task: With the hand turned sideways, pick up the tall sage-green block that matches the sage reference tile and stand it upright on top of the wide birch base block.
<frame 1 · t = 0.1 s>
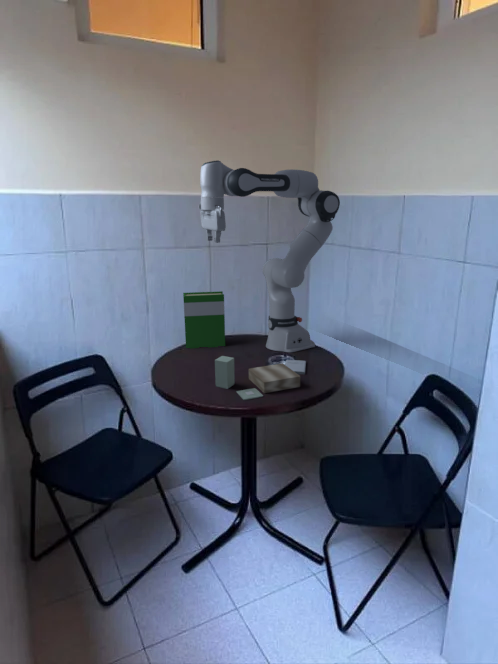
hand: (213, 241, 177), 48 cm above the table, tool pointing down, fingers open, 8 cm apart
sage block: (225, 385, 160), on the table
birch base block: (273, 382, 162), on the table
reference tile: (249, 394, 153), on the table
external hard drive: (294, 369, 176), on the table
hardback book: (205, 345, 205), on the table
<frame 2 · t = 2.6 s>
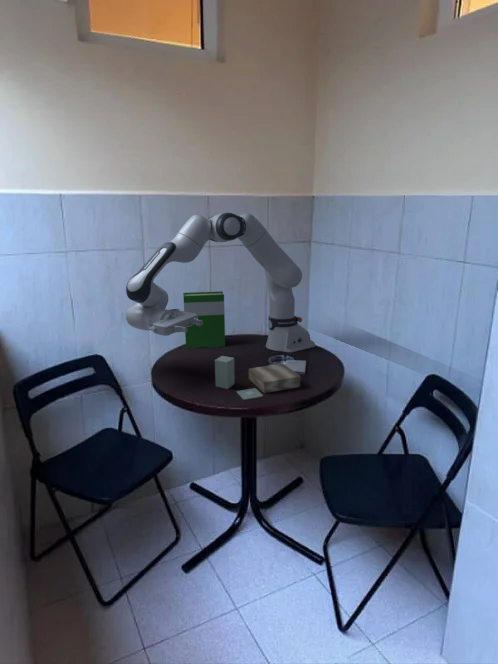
hand: (194, 326, 160), 20 cm above the table, tool horizontal, fingers open, 8 cm apart
nothing on the table moved.
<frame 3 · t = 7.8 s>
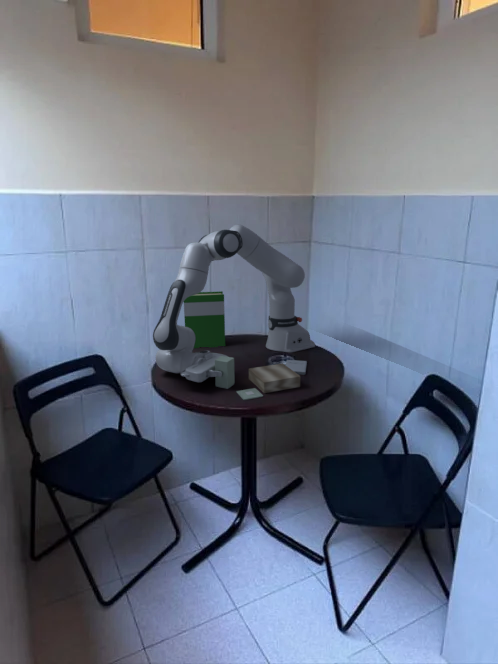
hand: (226, 371, 158), 6 cm above the table, tool horizontal, fingers closed on sage block, 5 cm apart
sage block: (225, 385, 160), on the table, touching gripper
everything else where it was.
when the fingers open (11 cm above the table, at t = 12.6 s): sage block drops 1 cm, resting on birch base block.
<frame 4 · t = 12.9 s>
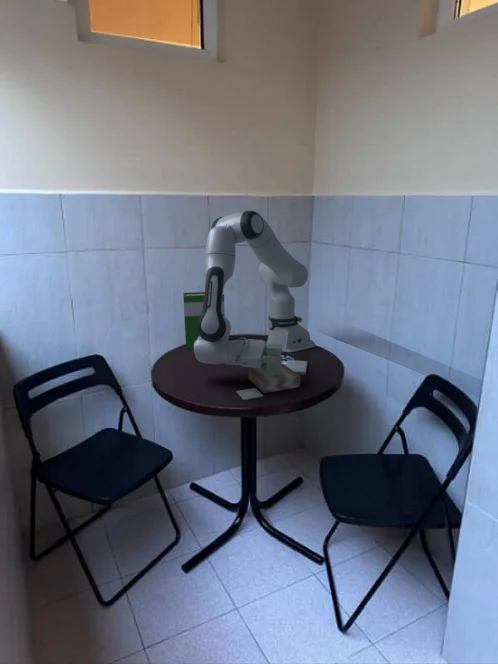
hand: (276, 354, 159), 11 cm above the table, tool horizontal, fingers open, 8 cm apart
sage block: (274, 372, 161), point 4 cm above the table, touching birch base block
everything else where it was.
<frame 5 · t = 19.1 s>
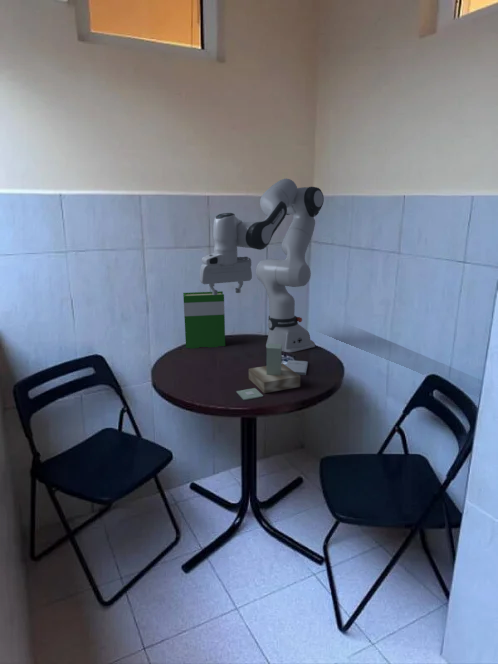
hand: (226, 293, 172), 29 cm above the table, tool pointing down, fingers open, 8 cm apart
nothing on the table moved.
at the end: sage block inside the target area on the birch base block (0.0 cm from its centre), point 4.0 cm above the birch base block's base; sage block tilted 0°; the gripper is holding nothing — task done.
